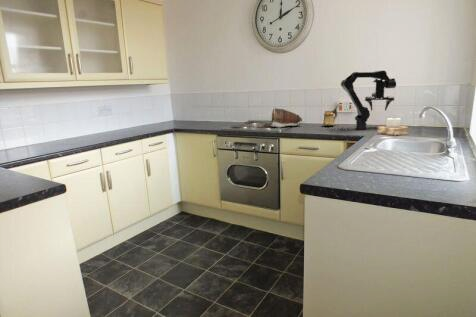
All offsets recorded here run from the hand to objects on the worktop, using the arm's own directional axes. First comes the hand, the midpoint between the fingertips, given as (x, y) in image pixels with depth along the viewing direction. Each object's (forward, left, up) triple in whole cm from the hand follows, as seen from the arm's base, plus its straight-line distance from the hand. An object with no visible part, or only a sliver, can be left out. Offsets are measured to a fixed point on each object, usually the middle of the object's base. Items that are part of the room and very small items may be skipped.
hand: (378, 110), depth 232 cm
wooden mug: (-32, +11, -12) cm, 36 cm away
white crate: (+6, -23, -12) cm, 27 cm away
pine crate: (+6, -23, -13) cm, 27 cm away
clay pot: (-67, +10, -13) cm, 69 cm away
